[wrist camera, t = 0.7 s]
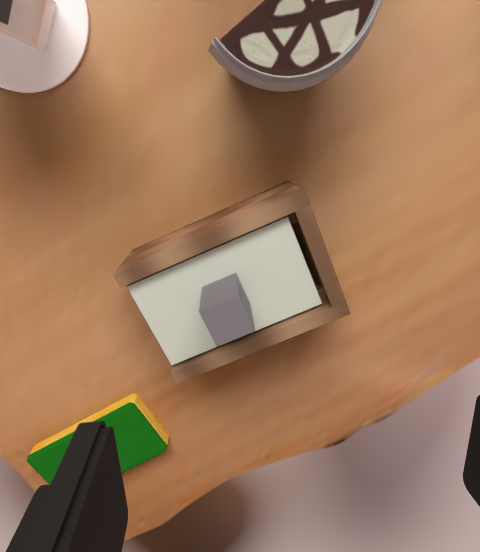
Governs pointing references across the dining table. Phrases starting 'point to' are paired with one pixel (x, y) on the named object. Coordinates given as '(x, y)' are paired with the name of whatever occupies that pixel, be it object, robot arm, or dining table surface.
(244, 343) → the slide box
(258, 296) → the cover plate
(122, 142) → the dining table surface
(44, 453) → the dish sponge
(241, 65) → the food container
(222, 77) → the dining table surface
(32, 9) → the panda figurine
